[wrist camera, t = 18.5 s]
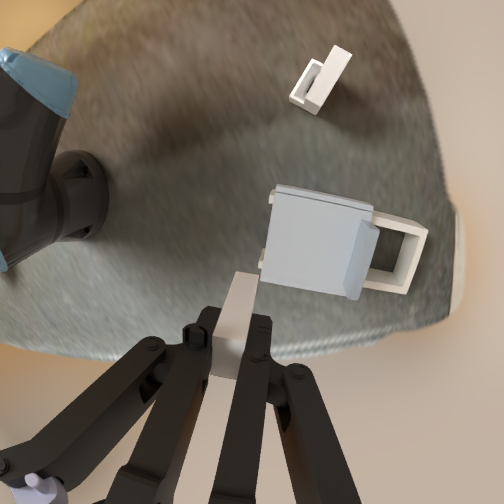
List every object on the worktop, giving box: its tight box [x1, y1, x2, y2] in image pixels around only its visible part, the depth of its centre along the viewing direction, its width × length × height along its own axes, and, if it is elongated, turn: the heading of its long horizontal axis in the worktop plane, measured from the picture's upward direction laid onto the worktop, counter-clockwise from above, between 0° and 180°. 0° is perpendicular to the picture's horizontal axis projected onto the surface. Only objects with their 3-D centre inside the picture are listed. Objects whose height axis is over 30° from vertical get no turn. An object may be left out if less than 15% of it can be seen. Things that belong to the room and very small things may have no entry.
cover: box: [260, 184, 380, 301], centre depth 29 cm, size 11×11×6 cm
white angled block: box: [289, 45, 352, 115], centre depth 25 cm, size 4×10×9 cm
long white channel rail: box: [258, 189, 428, 294], centre depth 33 cm, size 20×9×4 cm, turn 81°
